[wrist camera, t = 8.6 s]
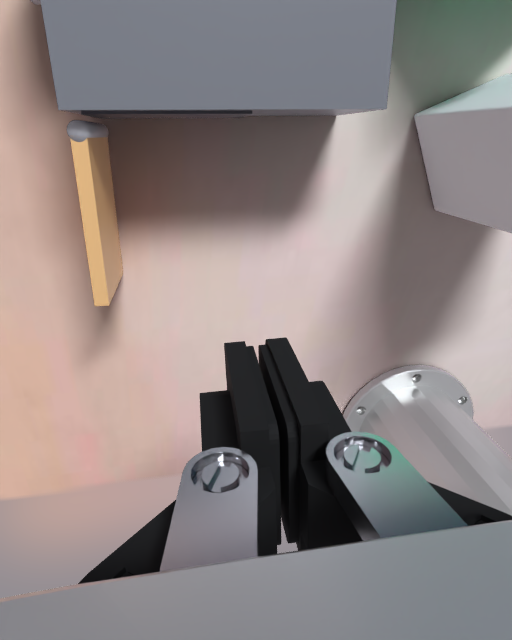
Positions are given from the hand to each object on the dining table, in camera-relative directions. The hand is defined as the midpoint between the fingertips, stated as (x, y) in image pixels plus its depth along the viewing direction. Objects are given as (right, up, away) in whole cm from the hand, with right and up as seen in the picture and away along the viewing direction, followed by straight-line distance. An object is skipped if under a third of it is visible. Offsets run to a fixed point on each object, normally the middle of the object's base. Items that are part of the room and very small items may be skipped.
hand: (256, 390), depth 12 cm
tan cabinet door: (-10, +10, +17) cm, 22 cm away
